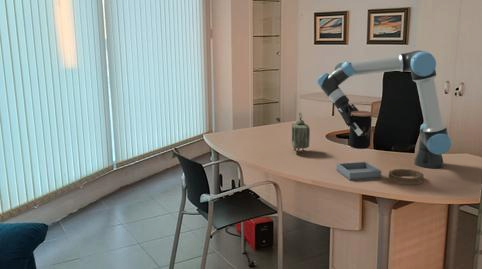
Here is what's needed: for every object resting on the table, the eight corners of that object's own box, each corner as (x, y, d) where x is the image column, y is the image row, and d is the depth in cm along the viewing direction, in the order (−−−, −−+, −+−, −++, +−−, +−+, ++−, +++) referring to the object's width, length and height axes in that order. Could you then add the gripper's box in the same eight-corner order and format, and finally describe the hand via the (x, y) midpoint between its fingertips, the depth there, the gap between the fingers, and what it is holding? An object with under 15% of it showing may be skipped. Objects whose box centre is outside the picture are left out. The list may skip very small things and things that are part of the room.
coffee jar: (358, 150, 241) (360, 115, 237) (344, 145, 250) (346, 111, 246) (374, 147, 246) (376, 113, 242) (360, 143, 255) (361, 109, 251)
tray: (365, 168, 261) (366, 161, 261) (380, 178, 245) (381, 170, 244) (336, 170, 258) (336, 163, 257) (349, 180, 242) (349, 173, 241)
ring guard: (411, 173, 253) (412, 167, 252) (429, 183, 237) (430, 177, 236) (383, 175, 249) (383, 170, 249) (399, 185, 234) (399, 180, 233)
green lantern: (291, 149, 302) (292, 110, 296) (305, 149, 302) (306, 110, 296) (294, 155, 287) (295, 114, 282) (309, 155, 288) (310, 114, 282)
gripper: (344, 100, 262) (369, 132, 256) (323, 106, 244) (350, 140, 238) (353, 92, 257) (379, 124, 251) (333, 97, 240) (360, 131, 234)
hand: (365, 132), depth 245 cm, fingers closed on coffee jar, 11 cm apart
